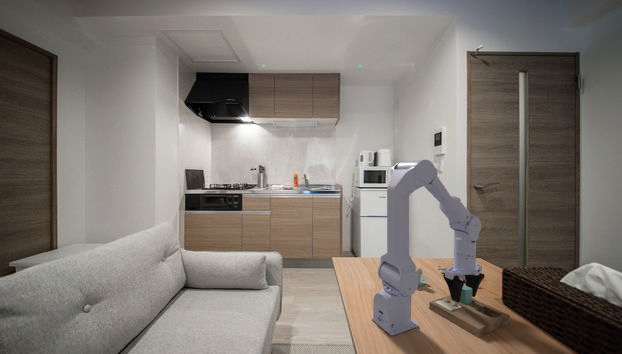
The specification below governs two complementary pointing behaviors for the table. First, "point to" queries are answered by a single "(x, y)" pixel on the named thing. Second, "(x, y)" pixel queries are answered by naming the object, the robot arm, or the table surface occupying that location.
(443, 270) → the soldier figure
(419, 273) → the pacifier
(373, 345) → the table surface
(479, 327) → the wooden sorting tray
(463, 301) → the teal rectangular block
